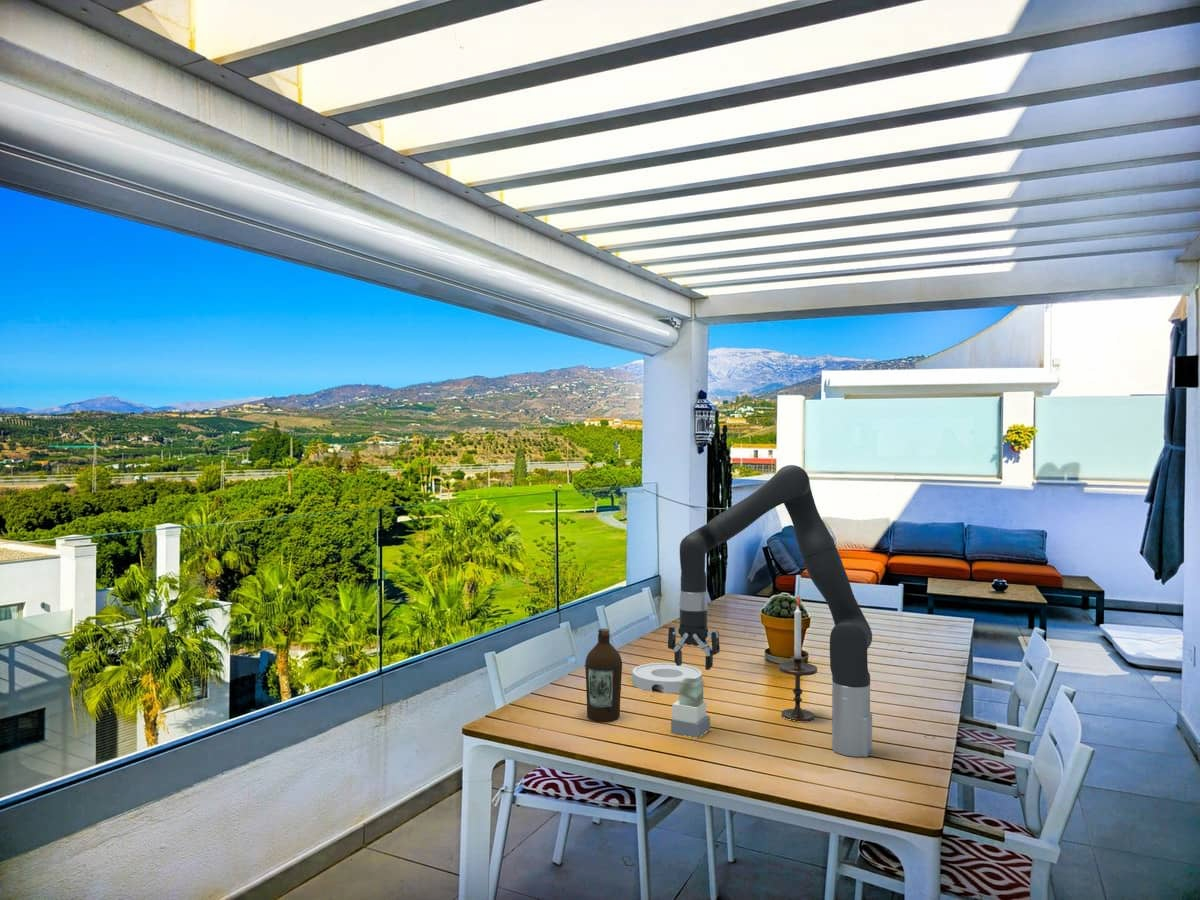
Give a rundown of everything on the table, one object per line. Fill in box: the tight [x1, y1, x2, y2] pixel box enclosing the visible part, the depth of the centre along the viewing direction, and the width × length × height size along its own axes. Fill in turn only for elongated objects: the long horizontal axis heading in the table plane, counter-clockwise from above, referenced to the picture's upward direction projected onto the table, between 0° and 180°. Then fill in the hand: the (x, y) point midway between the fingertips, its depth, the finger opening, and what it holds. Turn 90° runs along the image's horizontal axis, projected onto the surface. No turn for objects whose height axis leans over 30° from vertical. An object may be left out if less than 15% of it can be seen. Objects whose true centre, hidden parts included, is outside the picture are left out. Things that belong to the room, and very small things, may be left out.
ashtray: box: [631, 662, 703, 694], centre depth 257 cm, size 23×23×4 cm
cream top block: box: [671, 699, 707, 723], centre depth 211 cm, size 7×7×4 cm
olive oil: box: [584, 628, 623, 723], centre depth 222 cm, size 11×11×25 cm
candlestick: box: [777, 594, 818, 722], centre depth 223 cm, size 11×11×35 cm
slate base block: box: [670, 715, 711, 739], centre depth 211 cm, size 8×8×4 cm
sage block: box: [678, 678, 704, 707], centre depth 210 cm, size 5×5×6 cm
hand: (693, 667), depth 210 cm, fingers open, 8 cm apart
